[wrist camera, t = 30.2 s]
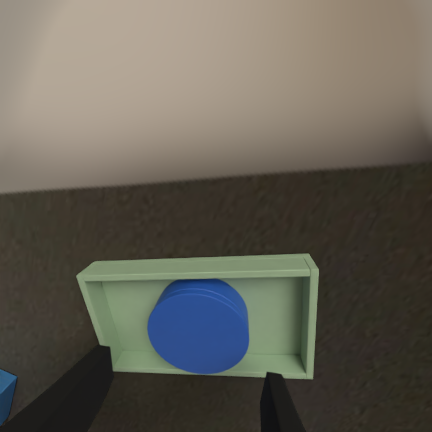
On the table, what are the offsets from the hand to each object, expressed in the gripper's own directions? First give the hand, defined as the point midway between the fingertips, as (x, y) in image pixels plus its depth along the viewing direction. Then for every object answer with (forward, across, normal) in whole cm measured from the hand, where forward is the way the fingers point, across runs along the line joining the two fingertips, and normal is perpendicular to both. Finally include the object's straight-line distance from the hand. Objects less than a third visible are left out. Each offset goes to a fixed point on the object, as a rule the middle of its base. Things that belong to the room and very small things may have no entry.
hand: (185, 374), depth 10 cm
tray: (+4, 0, 0) cm, 4 cm away
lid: (+2, 0, 0) cm, 2 cm away
